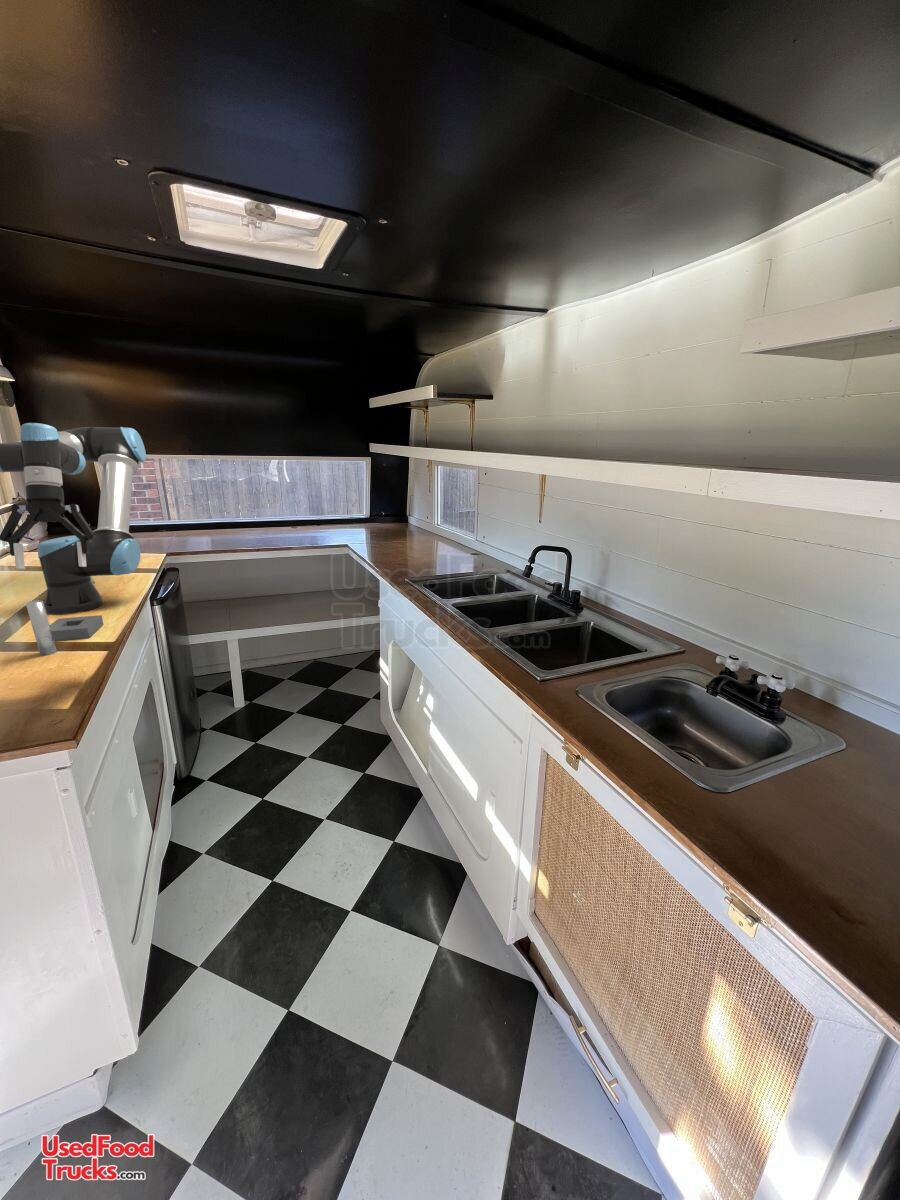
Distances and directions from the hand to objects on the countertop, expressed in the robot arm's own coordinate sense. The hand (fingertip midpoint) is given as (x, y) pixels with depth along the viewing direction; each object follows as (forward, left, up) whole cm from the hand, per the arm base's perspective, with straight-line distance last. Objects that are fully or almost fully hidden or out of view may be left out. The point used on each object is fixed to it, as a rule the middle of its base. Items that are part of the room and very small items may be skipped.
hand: (52, 567), depth 127 cm
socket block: (-8, -2, -21) cm, 23 cm away
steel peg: (+6, -3, -21) cm, 22 cm away
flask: (-64, -19, -22) cm, 70 cm away
